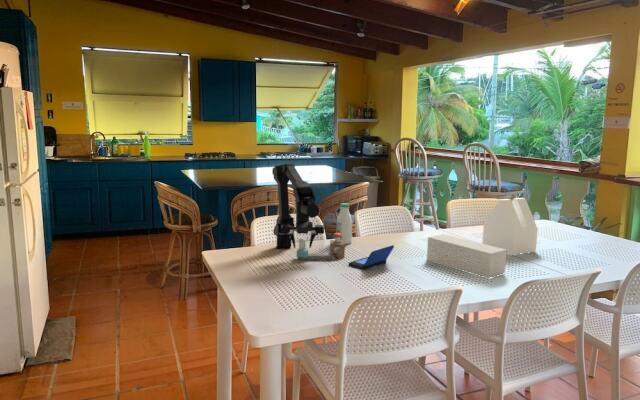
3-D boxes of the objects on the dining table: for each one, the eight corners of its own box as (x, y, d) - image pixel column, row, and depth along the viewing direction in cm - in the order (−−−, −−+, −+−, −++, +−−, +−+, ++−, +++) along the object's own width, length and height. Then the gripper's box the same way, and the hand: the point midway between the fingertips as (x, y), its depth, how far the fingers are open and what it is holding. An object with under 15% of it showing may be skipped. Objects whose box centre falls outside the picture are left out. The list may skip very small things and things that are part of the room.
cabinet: (331, 257, 223) (331, 244, 222) (330, 252, 231) (330, 240, 230) (344, 257, 223) (344, 244, 222) (343, 252, 231) (343, 240, 230)
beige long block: (426, 260, 222) (427, 237, 220) (442, 256, 228) (443, 234, 227) (488, 279, 197) (490, 253, 195) (504, 274, 203) (506, 249, 201)
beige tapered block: (482, 246, 249) (485, 196, 244) (504, 243, 255) (508, 195, 251) (512, 255, 232) (516, 203, 227) (535, 252, 238) (540, 201, 234)
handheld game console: (370, 259, 223) (371, 239, 221) (394, 265, 214) (395, 244, 212) (347, 266, 212) (347, 244, 210) (371, 273, 203) (372, 251, 201)
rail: (297, 260, 218) (297, 255, 218) (297, 258, 221) (297, 253, 221) (333, 260, 219) (334, 255, 219) (333, 258, 222) (333, 254, 221)
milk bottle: (351, 241, 254) (352, 202, 250) (351, 244, 246) (352, 205, 243) (336, 240, 254) (337, 201, 251) (335, 244, 247) (336, 204, 243)
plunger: (334, 245, 225) (334, 234, 224) (333, 243, 228) (333, 232, 227) (341, 245, 225) (341, 234, 224) (340, 243, 228) (340, 233, 227)
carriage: (296, 257, 217) (296, 240, 216) (296, 253, 222) (296, 237, 221) (307, 257, 217) (308, 240, 216) (307, 253, 222) (308, 237, 221)
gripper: (280, 216, 208) (280, 252, 211) (324, 217, 209) (324, 253, 211) (281, 211, 219) (281, 246, 222) (323, 212, 220) (323, 246, 222)
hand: (302, 248), depth 219 cm, fingers open, 6 cm apart
